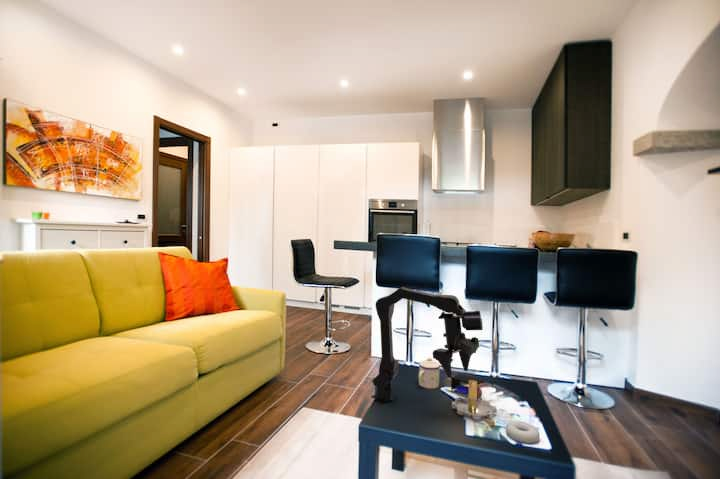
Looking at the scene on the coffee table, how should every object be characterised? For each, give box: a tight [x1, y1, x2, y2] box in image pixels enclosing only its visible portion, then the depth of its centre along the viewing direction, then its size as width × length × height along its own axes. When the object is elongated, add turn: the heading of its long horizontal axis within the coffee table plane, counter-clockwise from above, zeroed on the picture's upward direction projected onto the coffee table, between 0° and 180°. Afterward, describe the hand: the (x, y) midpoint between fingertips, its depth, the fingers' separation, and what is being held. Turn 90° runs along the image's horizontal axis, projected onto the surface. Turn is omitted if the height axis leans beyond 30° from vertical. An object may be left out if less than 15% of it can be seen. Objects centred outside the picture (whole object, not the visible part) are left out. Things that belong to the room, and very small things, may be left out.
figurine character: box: [443, 373, 485, 400], centre depth 149 cm, size 7×8×15 cm
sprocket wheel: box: [451, 380, 498, 420], centre depth 132 cm, size 15×15×12 cm
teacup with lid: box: [418, 357, 441, 390], centre depth 156 cm, size 12×9×12 cm
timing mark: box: [484, 418, 496, 426], centre depth 124 cm, size 2×2×1 cm
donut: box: [505, 420, 540, 444], centre depth 116 cm, size 10×4×10 cm
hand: (457, 374), depth 131 cm, fingers open, 9 cm apart
